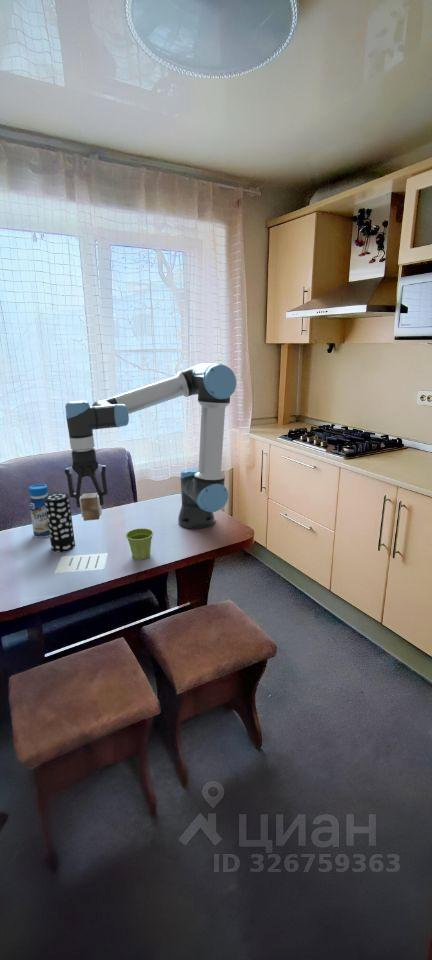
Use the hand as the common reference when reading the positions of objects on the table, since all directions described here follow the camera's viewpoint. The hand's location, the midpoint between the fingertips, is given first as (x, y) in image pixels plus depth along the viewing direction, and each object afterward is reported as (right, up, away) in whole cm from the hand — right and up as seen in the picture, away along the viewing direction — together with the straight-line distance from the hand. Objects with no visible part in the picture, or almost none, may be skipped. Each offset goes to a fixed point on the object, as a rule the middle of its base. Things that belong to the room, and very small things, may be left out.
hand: (92, 514), depth 150 cm
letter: (-3, -17, 0) cm, 17 cm away
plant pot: (+16, -15, +4) cm, 23 cm away
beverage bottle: (-26, -10, +24) cm, 37 cm away
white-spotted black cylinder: (-14, -13, +12) cm, 23 cm away
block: (0, -1, 0) cm, 1 cm away
